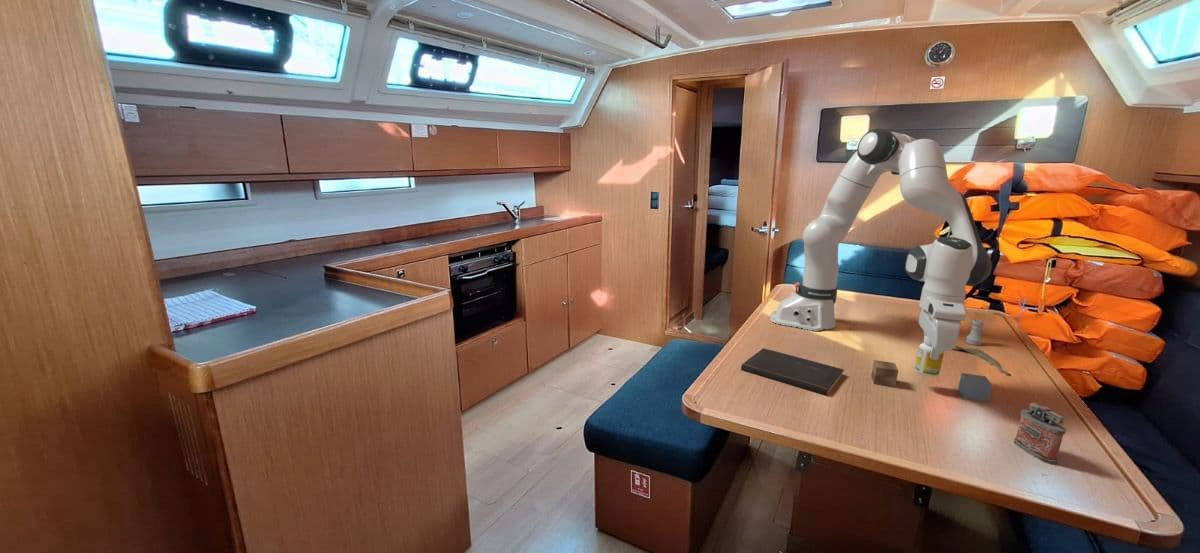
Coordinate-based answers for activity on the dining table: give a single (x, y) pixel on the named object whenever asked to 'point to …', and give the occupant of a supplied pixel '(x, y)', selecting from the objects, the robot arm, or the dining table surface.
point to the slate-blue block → (975, 387)
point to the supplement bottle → (927, 360)
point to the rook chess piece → (975, 333)
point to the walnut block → (884, 373)
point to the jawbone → (984, 356)
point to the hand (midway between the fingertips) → (930, 353)
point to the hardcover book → (793, 371)
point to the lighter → (1040, 433)
